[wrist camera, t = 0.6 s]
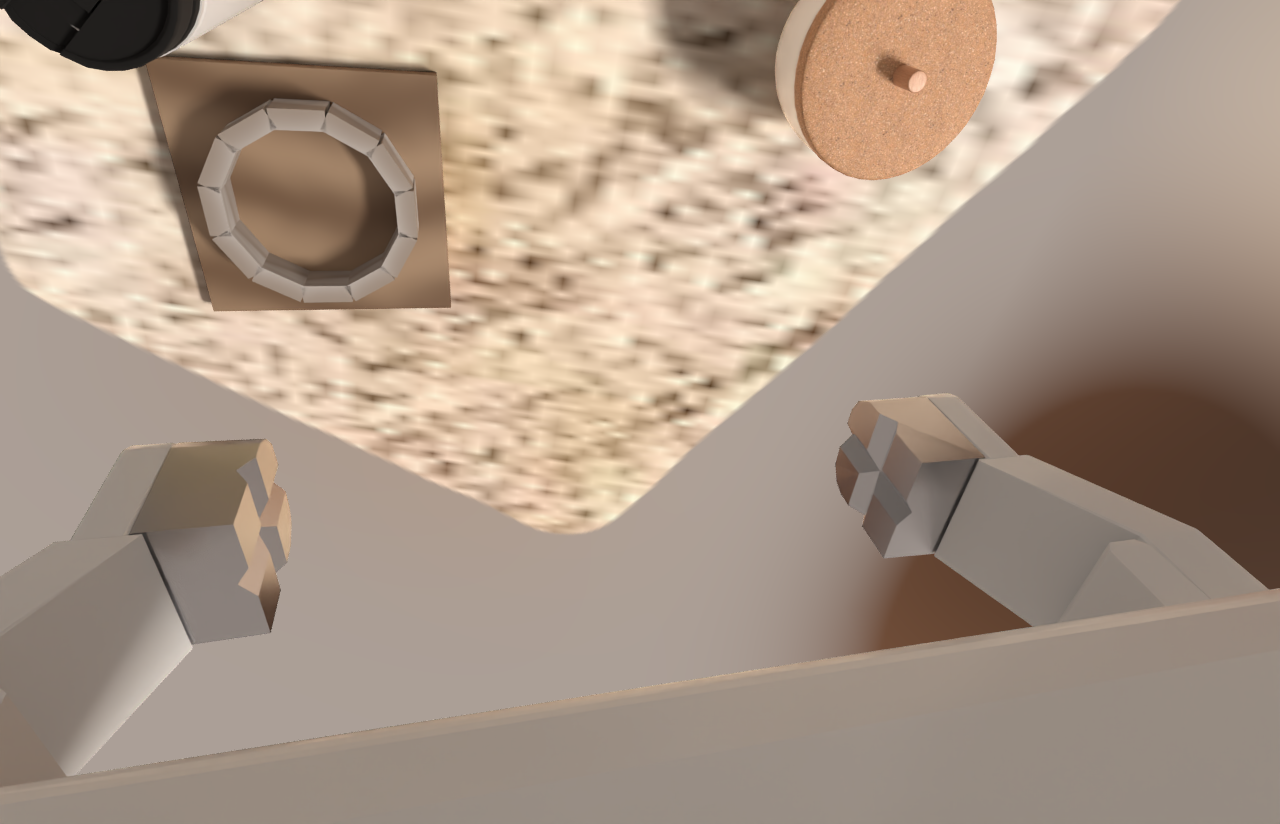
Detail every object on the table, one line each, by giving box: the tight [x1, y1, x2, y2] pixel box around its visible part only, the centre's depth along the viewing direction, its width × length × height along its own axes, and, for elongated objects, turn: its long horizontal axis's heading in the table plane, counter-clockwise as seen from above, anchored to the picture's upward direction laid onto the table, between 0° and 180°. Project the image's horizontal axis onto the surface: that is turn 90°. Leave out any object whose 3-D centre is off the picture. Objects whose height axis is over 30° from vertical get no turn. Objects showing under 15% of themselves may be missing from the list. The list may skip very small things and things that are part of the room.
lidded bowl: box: [775, 0, 997, 180], centre depth 45 cm, size 13×13×11 cm
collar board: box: [146, 56, 451, 311], centre depth 46 cm, size 16×16×4 cm
